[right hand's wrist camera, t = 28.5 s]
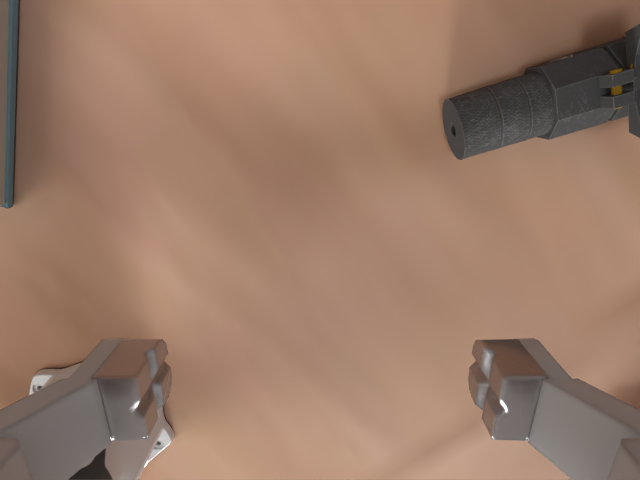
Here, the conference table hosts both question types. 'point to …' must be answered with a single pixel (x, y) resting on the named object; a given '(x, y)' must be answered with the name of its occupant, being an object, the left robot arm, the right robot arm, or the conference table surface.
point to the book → (7, 97)
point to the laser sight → (550, 99)
